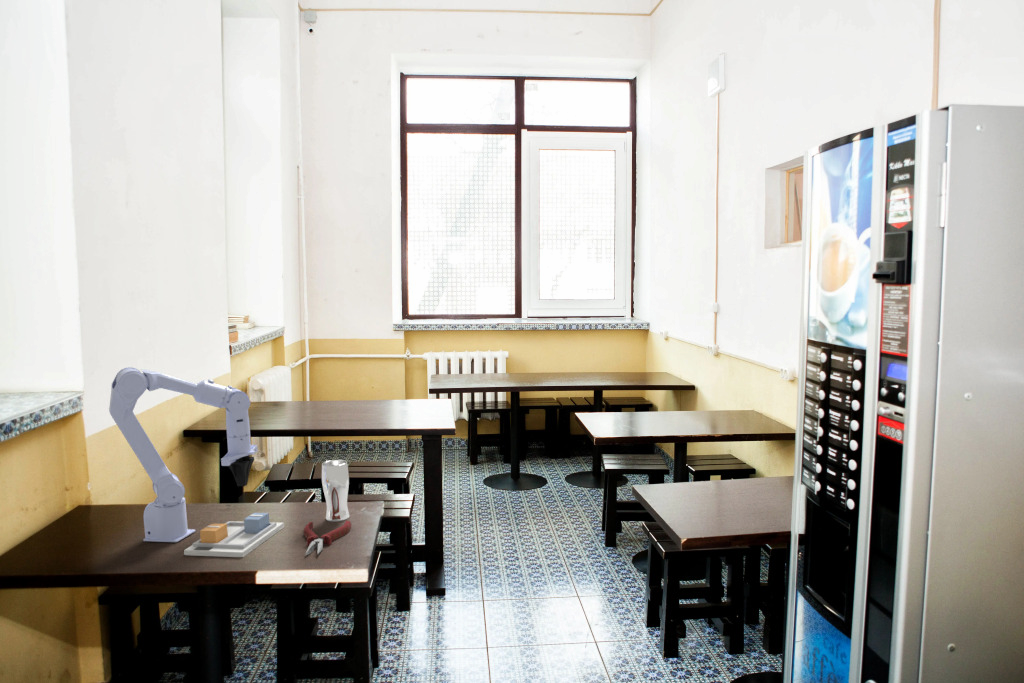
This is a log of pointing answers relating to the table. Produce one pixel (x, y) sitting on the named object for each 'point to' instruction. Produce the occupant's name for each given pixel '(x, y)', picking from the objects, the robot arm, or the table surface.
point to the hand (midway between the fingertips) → (242, 485)
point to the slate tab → (256, 522)
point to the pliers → (323, 536)
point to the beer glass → (336, 489)
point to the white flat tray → (234, 541)
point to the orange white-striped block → (213, 533)
